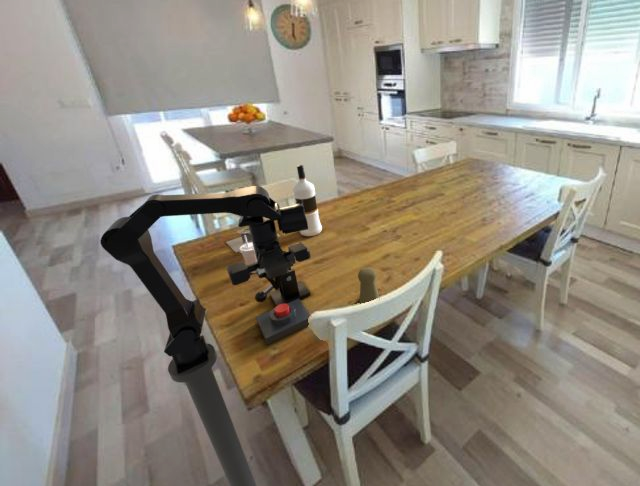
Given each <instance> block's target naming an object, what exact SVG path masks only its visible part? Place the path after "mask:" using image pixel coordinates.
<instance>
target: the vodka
mask: <svg viewBox="0 0 640 486" xmlns="http://www.w3.org/2000/svg"><path fill="white" fill-rule="evenodd" d="M296 170H297V175H298V182H297V183H295V184H294V186H293V188H292V191H293V197H294V200H295V205H297V204H302V205H303V208H304V213H305V216H306V219H307V223H308V230H303V231H299V234H300V235H302V236H303V237H315V236H317V235H319V234H320V233H321V232H323V231H322V230H323V226H322V223H321V221H320V216H319V215H320V214H319V209H318V205H317V204H318V203H317V196H316V189H315V188H316V187H315V185H314V184H313V183H312V182H310V181H308V180H307V179H306V172H305V167H304V165H303V164H299V165H297V166H296Z"/></svg>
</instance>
